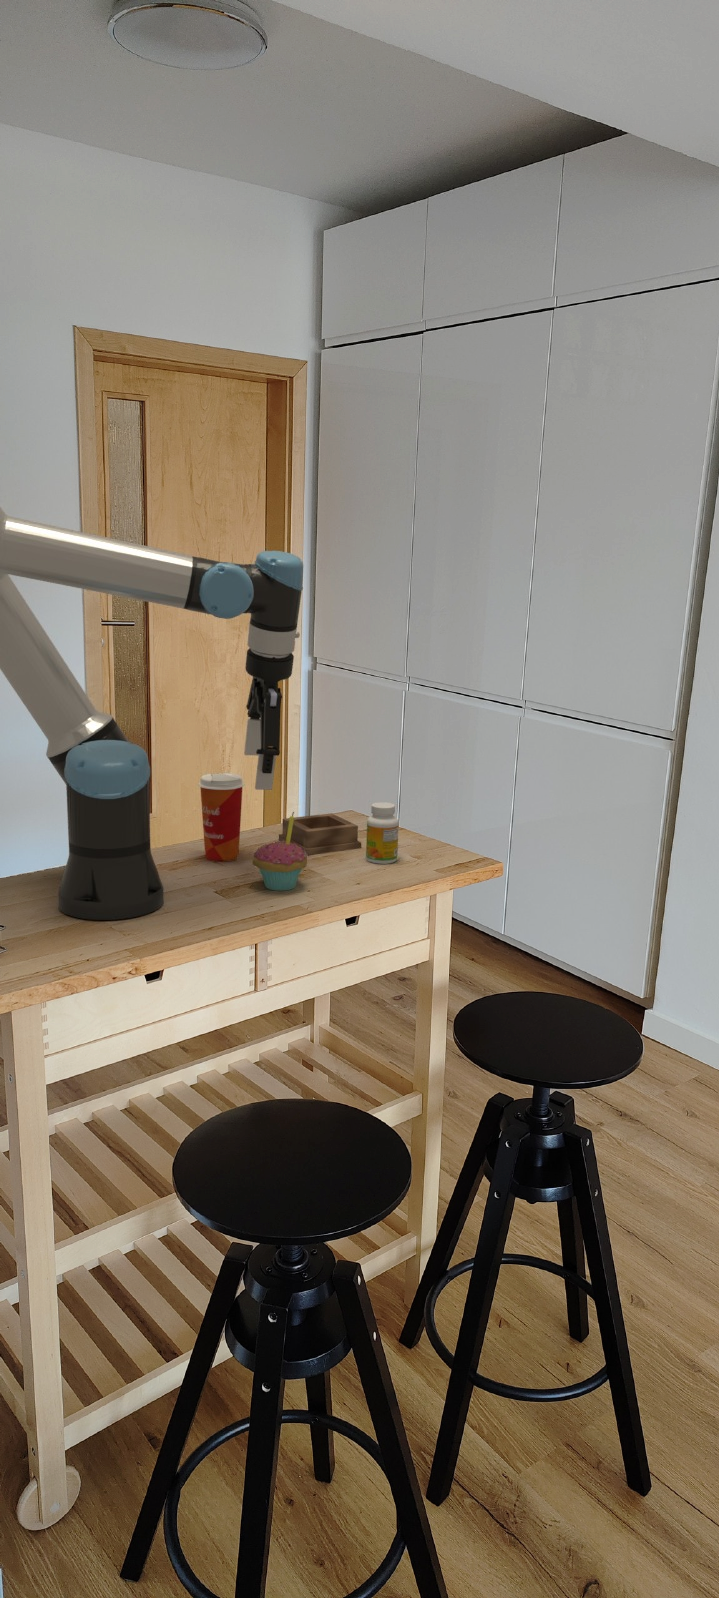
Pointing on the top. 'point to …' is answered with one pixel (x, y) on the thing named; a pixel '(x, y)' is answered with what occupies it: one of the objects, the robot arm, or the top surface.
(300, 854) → the cupcake
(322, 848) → the socket block
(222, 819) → the paper cup
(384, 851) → the supplement bottle
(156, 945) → the top surface
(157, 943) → the top surface
